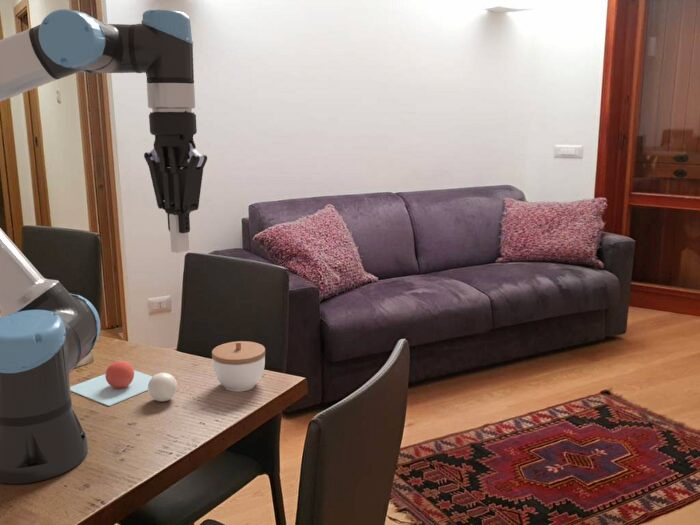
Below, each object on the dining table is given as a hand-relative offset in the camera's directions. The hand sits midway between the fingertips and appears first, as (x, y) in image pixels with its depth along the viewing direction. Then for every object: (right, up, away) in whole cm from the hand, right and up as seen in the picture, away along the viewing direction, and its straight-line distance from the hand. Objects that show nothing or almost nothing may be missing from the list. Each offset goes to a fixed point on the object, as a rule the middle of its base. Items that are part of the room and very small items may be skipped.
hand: (180, 250), depth 115 cm
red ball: (-17, -25, +20) cm, 36 cm away
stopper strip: (-32, -25, +31) cm, 51 cm away
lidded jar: (+7, -27, +22) cm, 36 cm away
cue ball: (-7, -26, +14) cm, 30 cm away
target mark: (-18, -27, +21) cm, 39 cm away
